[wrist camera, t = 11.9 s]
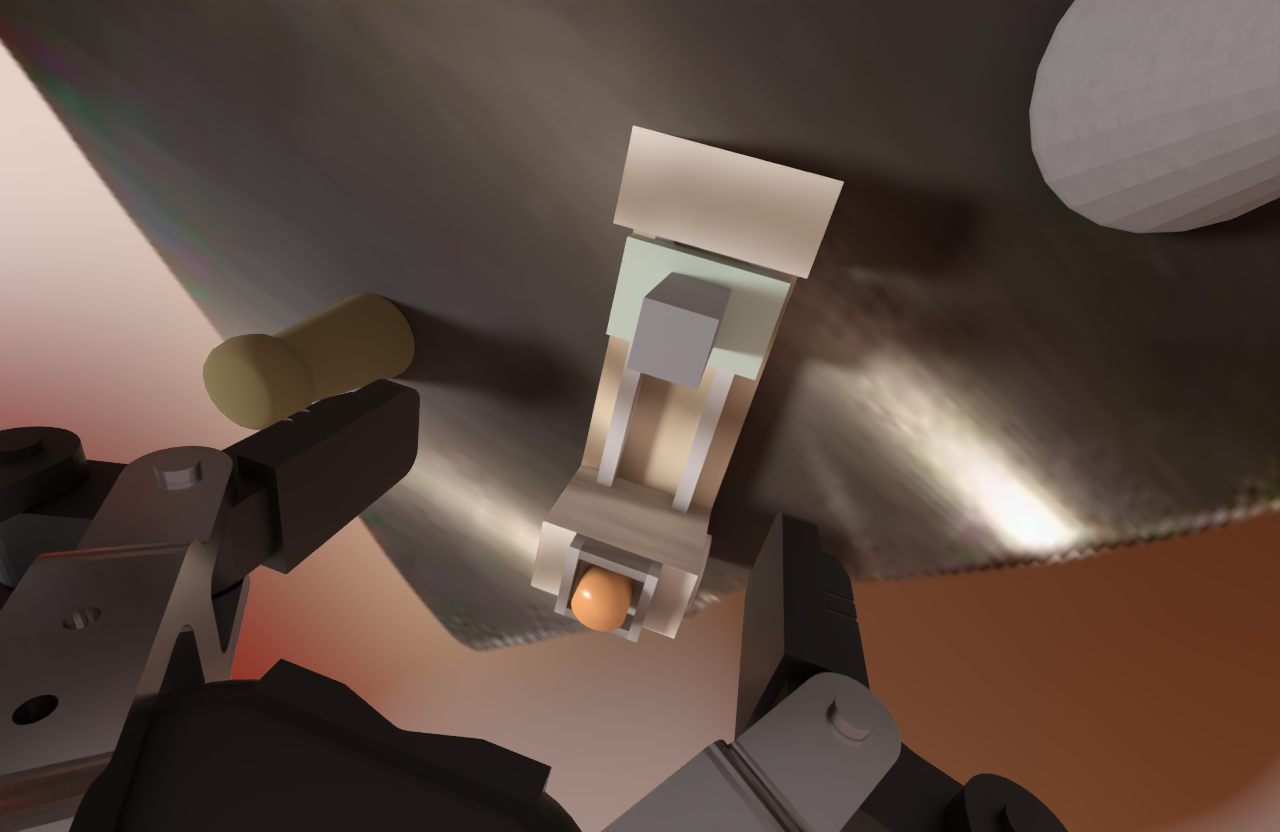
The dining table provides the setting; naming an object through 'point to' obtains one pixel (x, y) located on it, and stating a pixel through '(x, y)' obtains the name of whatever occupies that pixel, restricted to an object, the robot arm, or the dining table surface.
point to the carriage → (693, 311)
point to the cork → (308, 361)
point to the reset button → (602, 598)
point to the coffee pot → (1161, 111)
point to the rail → (664, 411)
